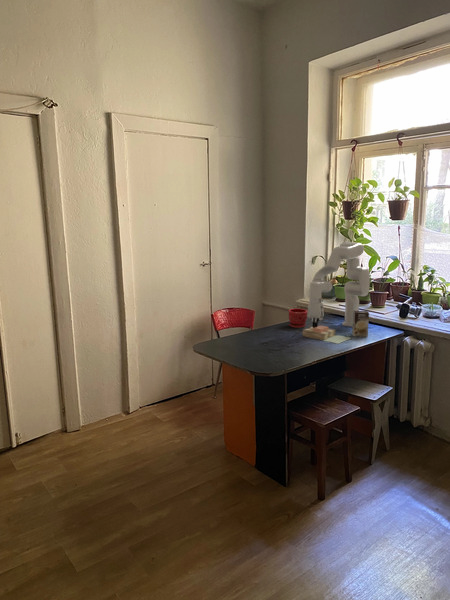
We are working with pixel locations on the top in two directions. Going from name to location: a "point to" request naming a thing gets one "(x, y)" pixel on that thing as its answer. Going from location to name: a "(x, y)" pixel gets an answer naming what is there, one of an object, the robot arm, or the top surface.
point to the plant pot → (297, 318)
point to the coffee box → (360, 323)
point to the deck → (318, 334)
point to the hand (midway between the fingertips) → (315, 327)
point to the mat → (337, 339)
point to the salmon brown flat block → (320, 329)
